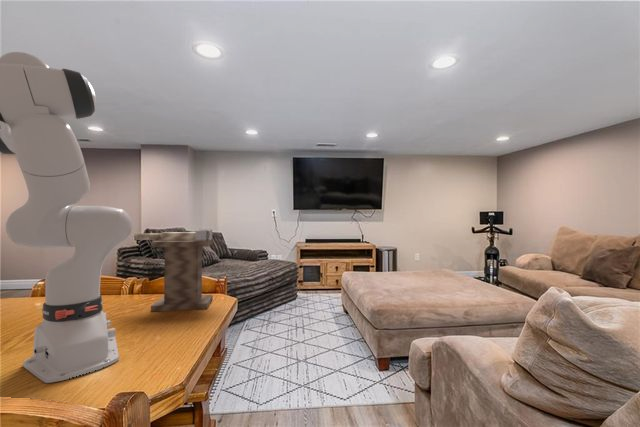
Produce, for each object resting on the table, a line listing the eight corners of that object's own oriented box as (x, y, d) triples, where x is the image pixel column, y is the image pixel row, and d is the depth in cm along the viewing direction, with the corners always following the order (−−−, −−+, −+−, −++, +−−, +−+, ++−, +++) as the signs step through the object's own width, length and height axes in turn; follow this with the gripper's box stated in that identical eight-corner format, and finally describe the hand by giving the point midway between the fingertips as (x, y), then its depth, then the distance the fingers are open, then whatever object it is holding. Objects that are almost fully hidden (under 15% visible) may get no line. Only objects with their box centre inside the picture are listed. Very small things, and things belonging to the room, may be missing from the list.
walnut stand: (150, 311, 109) (151, 241, 109) (161, 301, 121) (162, 238, 121) (207, 308, 113) (207, 241, 113) (212, 299, 125) (213, 238, 125)
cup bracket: (195, 240, 114) (195, 230, 114) (199, 239, 122) (199, 229, 122) (208, 240, 115) (208, 230, 115) (212, 239, 123) (212, 229, 123)
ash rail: (133, 241, 112) (133, 233, 112) (137, 240, 116) (138, 232, 116) (204, 240, 117) (204, 232, 117) (206, 239, 121) (206, 232, 121)
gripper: (38, 170, 105) (39, 208, 106) (44, 165, 92) (45, 209, 92) (61, 171, 110) (62, 208, 111) (71, 167, 96) (71, 209, 97)
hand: (54, 209), depth 101 cm, fingers open, 8 cm apart
